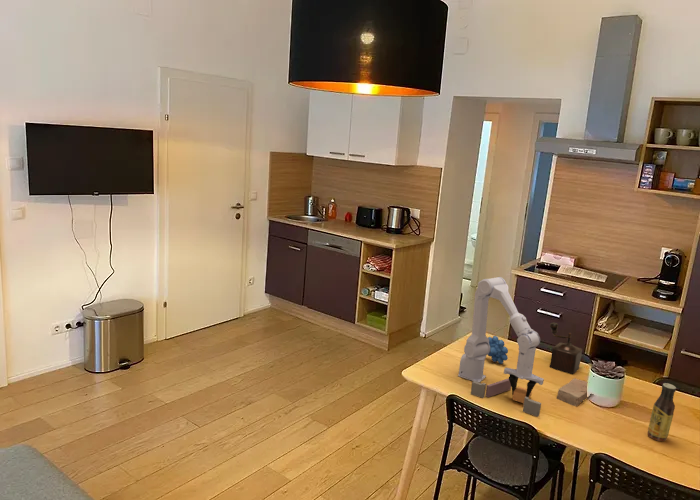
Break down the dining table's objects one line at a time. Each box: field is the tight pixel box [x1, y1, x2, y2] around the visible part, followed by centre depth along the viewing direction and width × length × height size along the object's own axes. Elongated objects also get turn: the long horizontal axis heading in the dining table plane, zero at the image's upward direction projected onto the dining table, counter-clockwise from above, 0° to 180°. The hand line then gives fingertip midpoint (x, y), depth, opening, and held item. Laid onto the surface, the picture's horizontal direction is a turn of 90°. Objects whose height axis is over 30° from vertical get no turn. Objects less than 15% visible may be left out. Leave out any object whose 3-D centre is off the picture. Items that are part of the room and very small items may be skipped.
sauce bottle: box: [647, 382, 677, 442], centre depth 187 cm, size 7×6×20 cm
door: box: [485, 377, 512, 398], centre depth 214 cm, size 14×2×4 cm, turn 126°
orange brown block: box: [512, 386, 533, 404], centre depth 210 cm, size 4×9×4 cm, turn 146°
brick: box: [556, 377, 588, 407], centre depth 216 cm, size 16×8×5 cm, turn 135°
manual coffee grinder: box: [549, 322, 583, 375], centre depth 243 cm, size 16×11×18 cm
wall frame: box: [470, 381, 542, 418], centre depth 205 cm, size 26×2×6 cm, turn 56°
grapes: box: [486, 335, 509, 365], centre depth 242 cm, size 12×7×12 cm, turn 44°
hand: (520, 396), depth 208 cm, fingers closed on orange brown block, 4 cm apart
